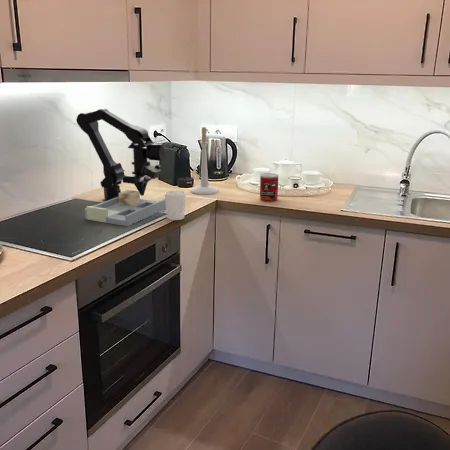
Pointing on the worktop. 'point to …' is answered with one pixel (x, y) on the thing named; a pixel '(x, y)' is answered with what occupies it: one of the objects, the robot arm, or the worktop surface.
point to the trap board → (123, 211)
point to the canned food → (269, 187)
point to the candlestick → (204, 172)
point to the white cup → (175, 204)
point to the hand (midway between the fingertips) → (142, 195)
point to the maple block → (129, 197)
